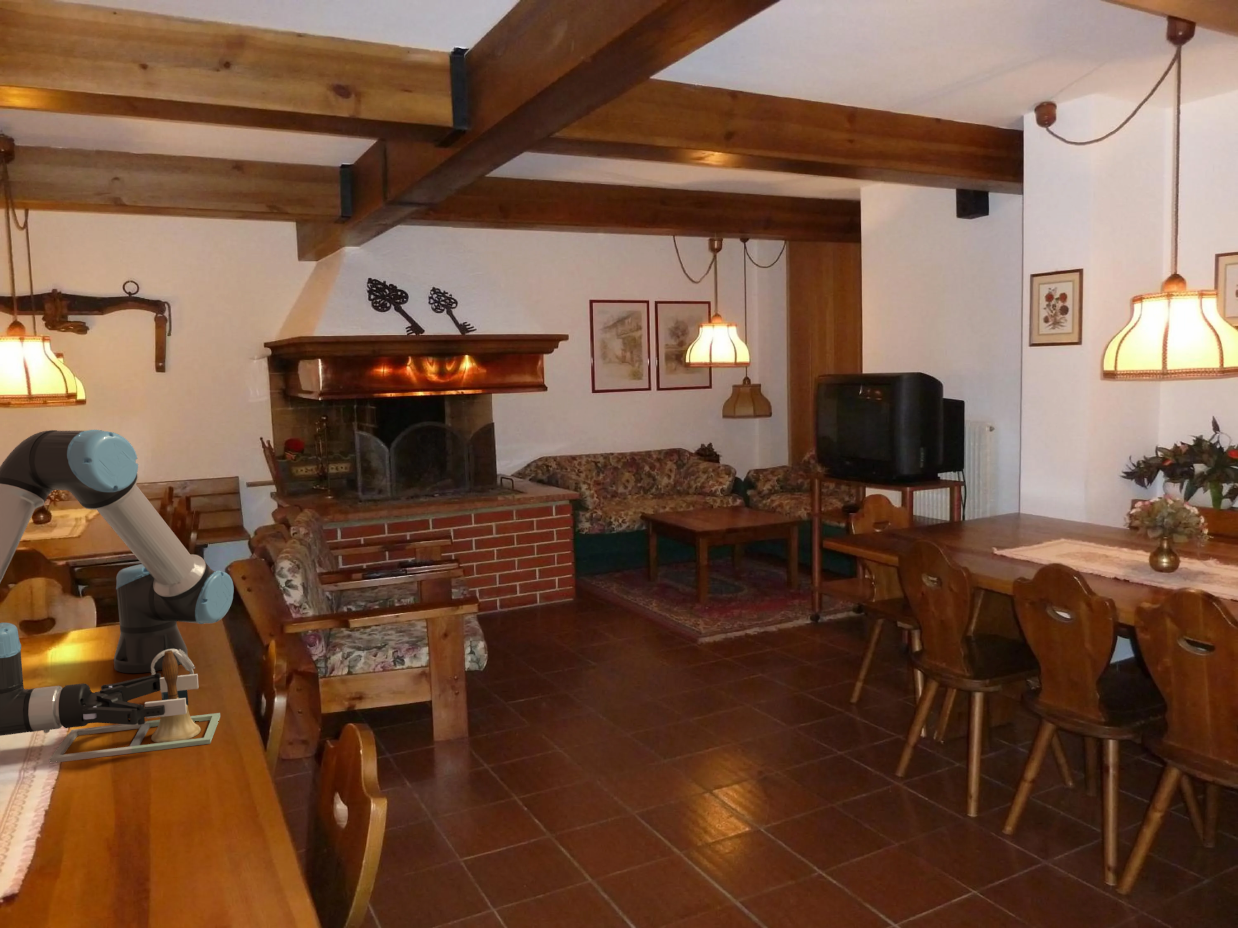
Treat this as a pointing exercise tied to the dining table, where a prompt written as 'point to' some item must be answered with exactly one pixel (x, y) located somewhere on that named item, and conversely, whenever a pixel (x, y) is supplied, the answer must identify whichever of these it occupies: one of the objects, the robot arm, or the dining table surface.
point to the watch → (186, 664)
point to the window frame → (136, 742)
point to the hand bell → (175, 724)
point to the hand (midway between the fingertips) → (192, 692)
